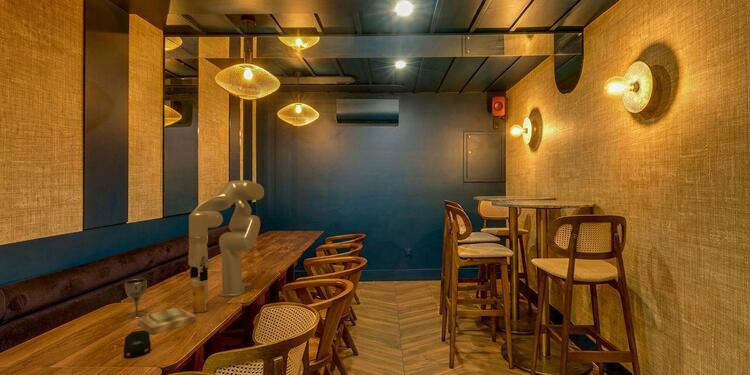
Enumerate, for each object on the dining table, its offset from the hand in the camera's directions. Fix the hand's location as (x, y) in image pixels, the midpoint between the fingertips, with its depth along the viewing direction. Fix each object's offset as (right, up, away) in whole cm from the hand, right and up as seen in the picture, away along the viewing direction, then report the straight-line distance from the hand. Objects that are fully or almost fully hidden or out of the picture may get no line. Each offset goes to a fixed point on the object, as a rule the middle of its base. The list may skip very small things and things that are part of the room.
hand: (198, 279), depth 160 cm
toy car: (-4, -16, -35) cm, 38 cm away
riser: (-7, -15, -13) cm, 21 cm away
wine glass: (-26, -15, -3) cm, 30 cm away
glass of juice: (0, -15, +1) cm, 15 cm away
